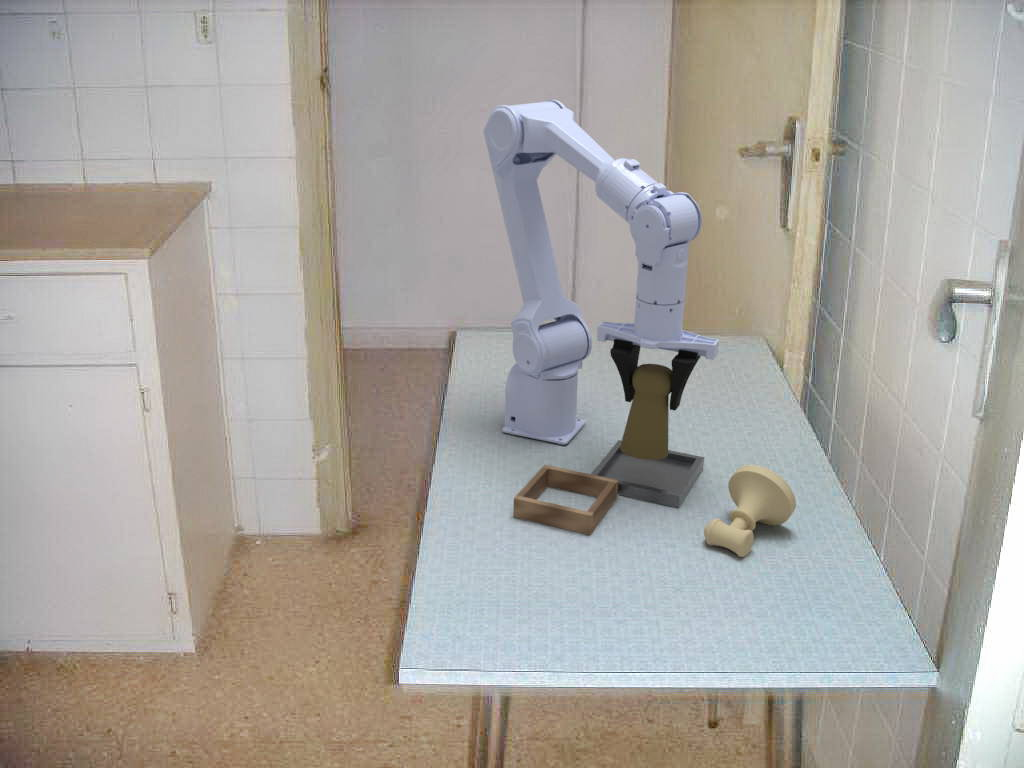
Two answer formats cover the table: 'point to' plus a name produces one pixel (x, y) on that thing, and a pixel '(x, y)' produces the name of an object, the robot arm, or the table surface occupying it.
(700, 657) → the table surface
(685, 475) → the grey square tray
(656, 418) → the olive peg figure
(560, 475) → the walnut stand
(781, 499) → the door knob
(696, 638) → the table surface
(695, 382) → the table surface
